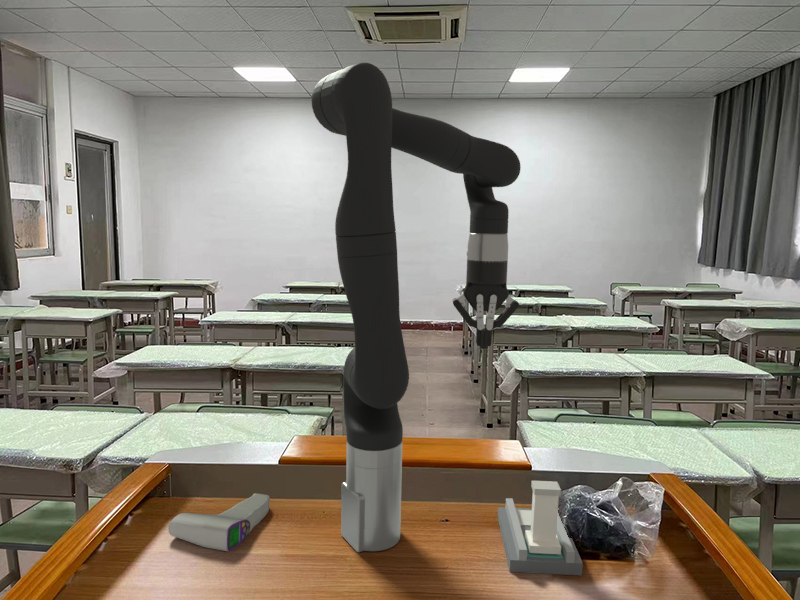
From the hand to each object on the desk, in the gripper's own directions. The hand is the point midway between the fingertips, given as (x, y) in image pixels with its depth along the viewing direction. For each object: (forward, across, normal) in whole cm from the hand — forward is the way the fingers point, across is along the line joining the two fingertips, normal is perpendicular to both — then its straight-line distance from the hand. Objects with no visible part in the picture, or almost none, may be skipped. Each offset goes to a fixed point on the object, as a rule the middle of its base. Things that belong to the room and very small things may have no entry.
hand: (483, 348), depth 110 cm
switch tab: (+26, +8, -23) cm, 36 cm away
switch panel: (+29, +8, -18) cm, 35 cm away
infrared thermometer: (+30, -45, -17) cm, 57 cm away
